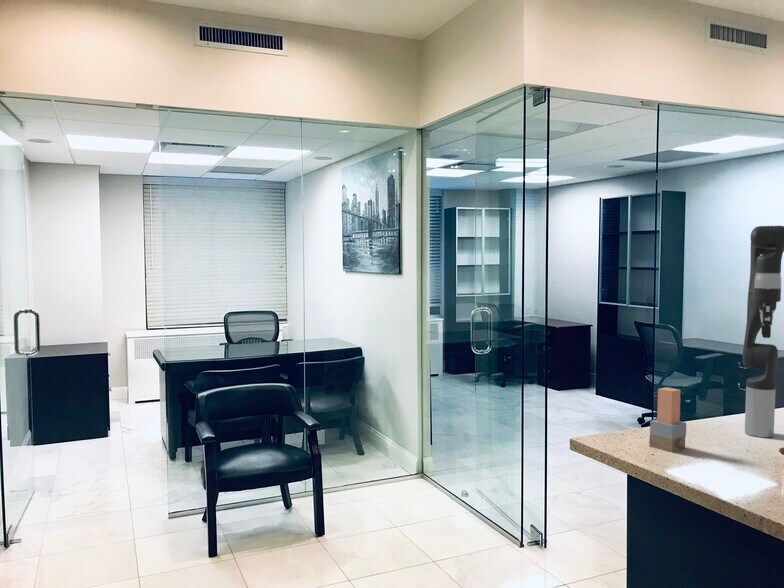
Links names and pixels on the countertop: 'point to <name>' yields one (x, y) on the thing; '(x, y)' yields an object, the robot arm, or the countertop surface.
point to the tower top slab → (668, 429)
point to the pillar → (668, 405)
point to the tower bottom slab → (667, 443)
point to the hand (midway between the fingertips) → (765, 336)
